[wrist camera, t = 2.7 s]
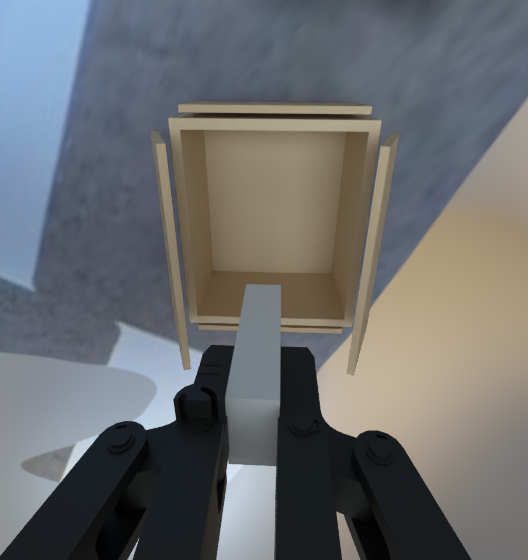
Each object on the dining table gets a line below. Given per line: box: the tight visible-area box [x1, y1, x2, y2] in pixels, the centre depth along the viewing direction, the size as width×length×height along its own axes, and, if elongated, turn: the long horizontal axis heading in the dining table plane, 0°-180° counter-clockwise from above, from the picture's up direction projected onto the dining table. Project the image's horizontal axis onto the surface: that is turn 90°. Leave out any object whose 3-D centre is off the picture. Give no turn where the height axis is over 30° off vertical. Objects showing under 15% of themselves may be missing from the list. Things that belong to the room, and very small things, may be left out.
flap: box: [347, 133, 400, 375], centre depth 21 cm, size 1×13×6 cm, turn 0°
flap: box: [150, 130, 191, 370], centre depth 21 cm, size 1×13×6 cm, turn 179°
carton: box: [168, 101, 381, 333], centre depth 27 cm, size 12×15×8 cm
